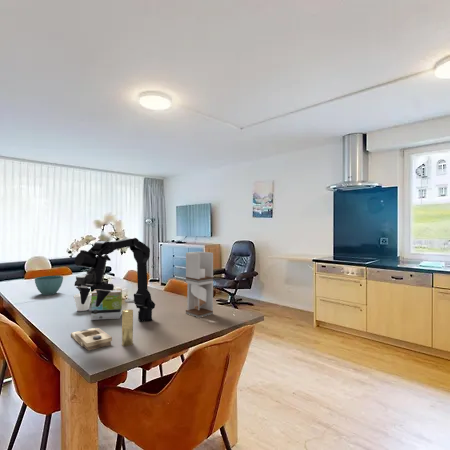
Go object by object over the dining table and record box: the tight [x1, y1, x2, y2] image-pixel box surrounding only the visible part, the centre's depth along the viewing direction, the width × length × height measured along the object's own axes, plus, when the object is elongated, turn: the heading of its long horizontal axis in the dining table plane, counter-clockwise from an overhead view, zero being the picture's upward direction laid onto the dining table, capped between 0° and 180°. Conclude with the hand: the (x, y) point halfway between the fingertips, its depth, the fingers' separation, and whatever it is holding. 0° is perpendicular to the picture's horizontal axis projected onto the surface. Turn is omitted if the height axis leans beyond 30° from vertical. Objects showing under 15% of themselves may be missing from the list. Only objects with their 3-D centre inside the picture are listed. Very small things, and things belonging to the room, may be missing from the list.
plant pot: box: [34, 275, 64, 296], centre depth 222 cm, size 18×18×12 cm
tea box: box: [90, 288, 123, 321], centre depth 165 cm, size 15×10×15 cm, turn 105°
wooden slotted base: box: [70, 327, 113, 351], centre depth 130 cm, size 10×22×4 cm, turn 42°
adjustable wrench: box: [124, 297, 135, 304], centre depth 195 cm, size 25×6×2 cm, turn 51°
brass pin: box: [121, 308, 134, 347], centre depth 126 cm, size 4×4×14 cm
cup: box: [73, 292, 92, 312], centre depth 178 cm, size 10×10×9 cm
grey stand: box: [185, 251, 214, 318], centre depth 171 cm, size 11×11×35 cm
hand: (89, 305), depth 129 cm, fingers open, 9 cm apart
